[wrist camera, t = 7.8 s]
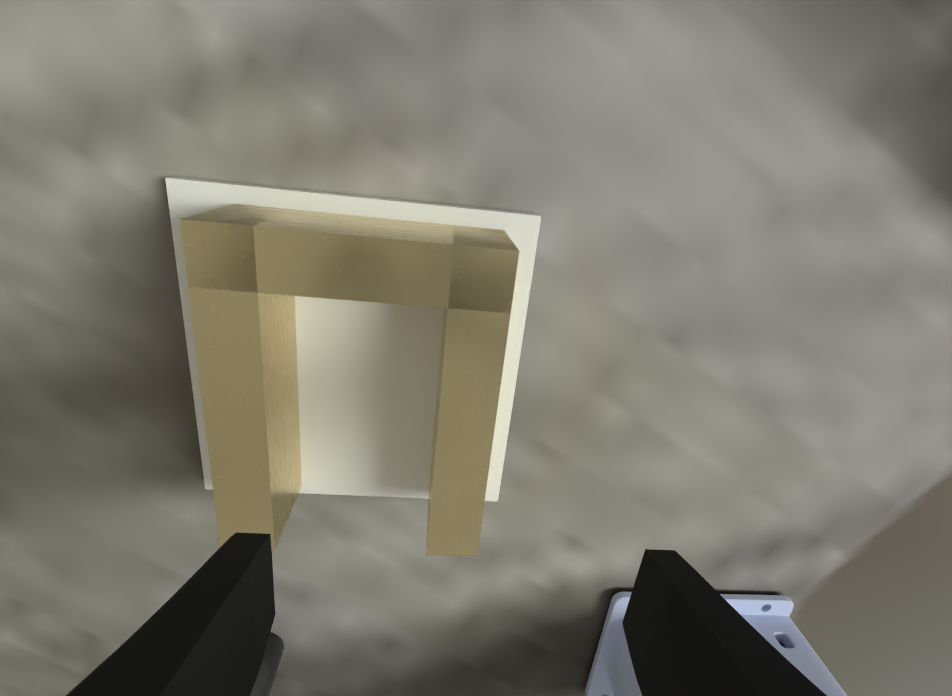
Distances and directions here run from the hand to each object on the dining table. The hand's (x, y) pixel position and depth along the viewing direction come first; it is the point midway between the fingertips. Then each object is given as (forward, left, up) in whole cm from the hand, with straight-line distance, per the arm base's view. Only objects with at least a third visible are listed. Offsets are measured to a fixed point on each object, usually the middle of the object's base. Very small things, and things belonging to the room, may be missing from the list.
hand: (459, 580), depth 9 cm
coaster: (+3, 0, -10) cm, 11 cm away
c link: (+3, 0, -10) cm, 10 cm away
